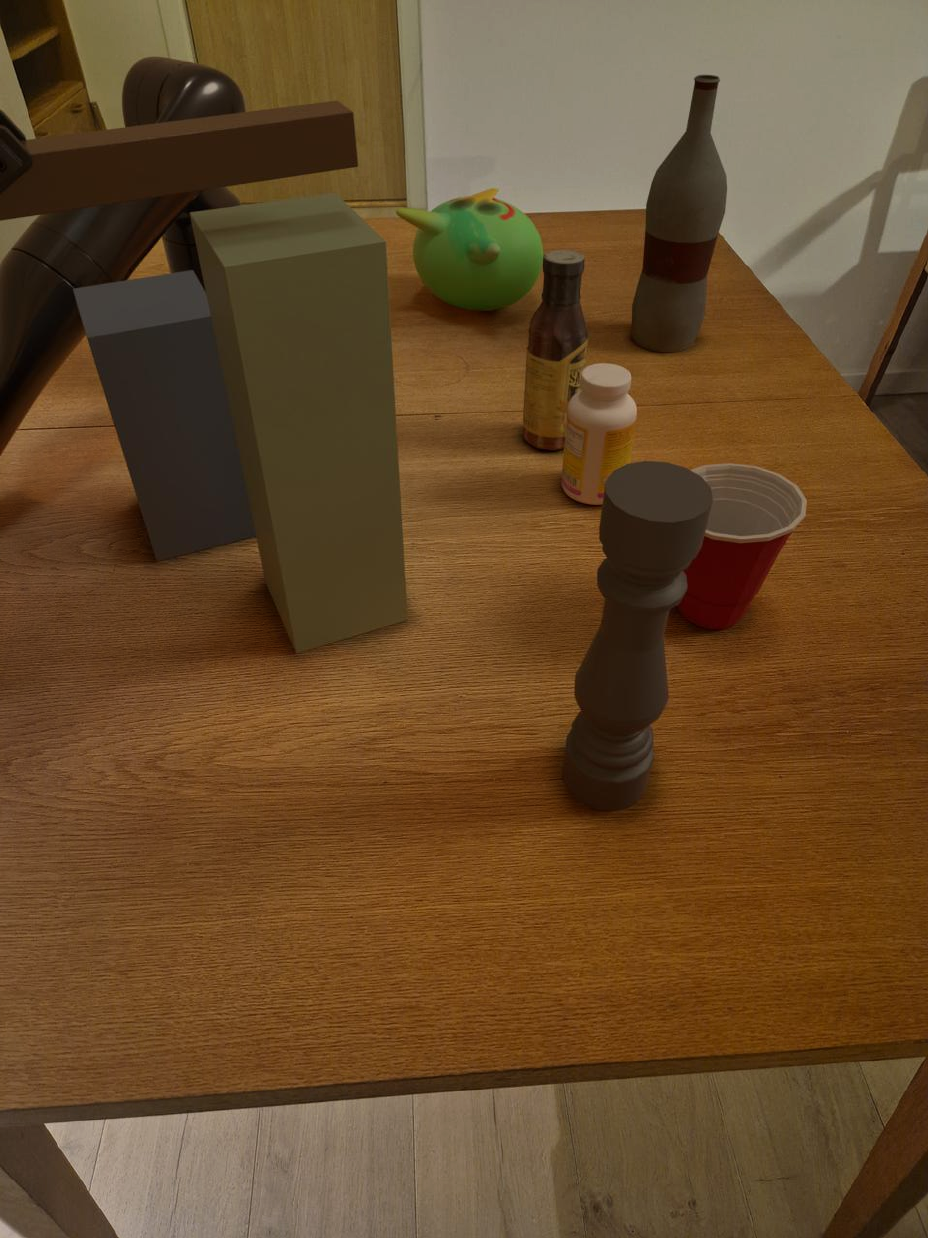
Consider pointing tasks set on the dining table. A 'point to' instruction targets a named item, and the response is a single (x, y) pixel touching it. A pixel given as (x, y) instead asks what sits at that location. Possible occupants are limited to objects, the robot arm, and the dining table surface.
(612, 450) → the supplement bottle
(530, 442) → the sauce bottle
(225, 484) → the blue gray rectangular block
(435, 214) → the toy bird
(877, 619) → the dining table surface
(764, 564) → the plastic cup
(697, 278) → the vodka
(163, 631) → the dining table surface
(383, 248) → the tall stand
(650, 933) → the dining table surface
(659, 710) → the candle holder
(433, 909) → the dining table surface
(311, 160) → the bar
